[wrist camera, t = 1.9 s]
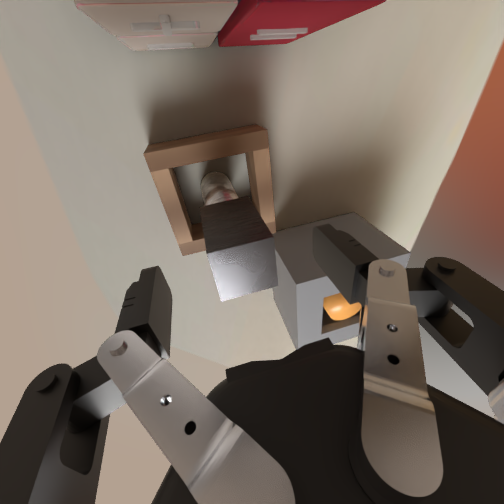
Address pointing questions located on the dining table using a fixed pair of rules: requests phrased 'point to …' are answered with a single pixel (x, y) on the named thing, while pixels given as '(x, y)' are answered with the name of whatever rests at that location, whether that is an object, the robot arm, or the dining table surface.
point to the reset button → (340, 307)
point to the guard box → (320, 278)
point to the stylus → (236, 240)
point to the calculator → (216, 20)
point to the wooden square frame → (204, 149)
